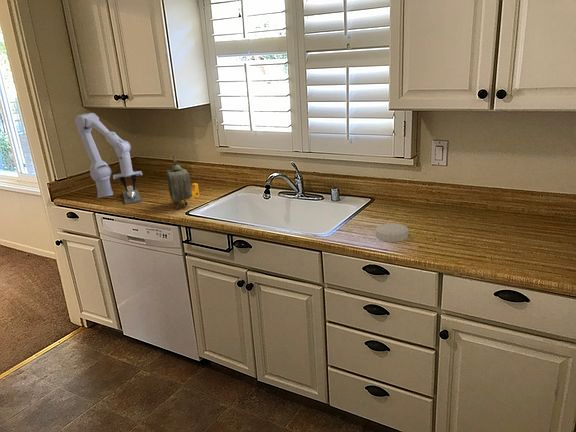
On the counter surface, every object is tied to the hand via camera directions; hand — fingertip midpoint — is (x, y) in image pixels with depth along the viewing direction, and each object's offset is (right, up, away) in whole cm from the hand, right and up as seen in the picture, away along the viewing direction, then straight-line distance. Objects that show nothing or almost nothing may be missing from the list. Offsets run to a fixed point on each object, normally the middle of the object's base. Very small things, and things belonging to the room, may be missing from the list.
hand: (130, 190), depth 249 cm
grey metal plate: (0, -4, +1) cm, 4 cm away
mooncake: (+122, -21, -72) cm, 143 cm away
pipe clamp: (+32, -5, -7) cm, 33 cm away
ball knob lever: (0, -2, +1) cm, 3 cm away
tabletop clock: (+32, -9, -18) cm, 38 cm away
